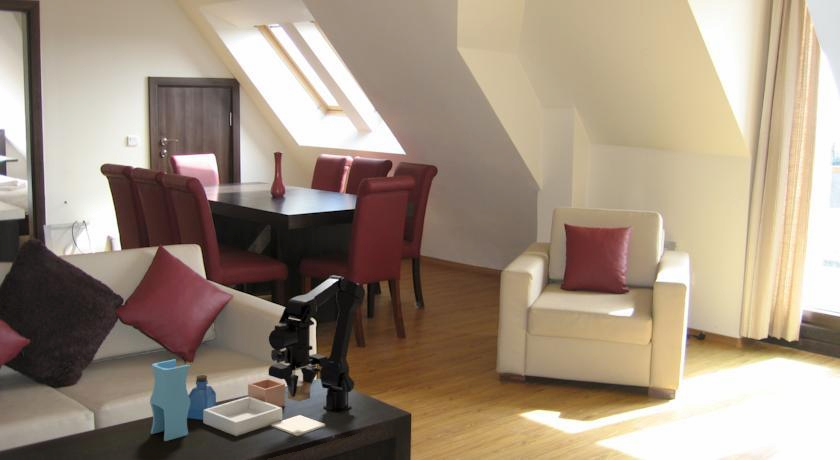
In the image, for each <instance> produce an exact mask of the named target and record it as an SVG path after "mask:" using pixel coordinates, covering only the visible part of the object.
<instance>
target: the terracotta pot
mask: <svg viewBox="0 0 840 460" xmlns="http://www.w3.org/2000/svg"><path fill="white" fill-rule="evenodd" d="M249 396H250V397H253V398H255V399H258V400H261V401H264V402H267V403H270V404H272V405H275V406H278V407H281V408H283V407H286V383H283V382H280V381H277V380H273V379H271V378H266V379H264V378H263V379H261V380H257V381H254V382H251V383H248V384H247V397H249Z"/></svg>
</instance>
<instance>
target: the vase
mask: <svg viewBox="0 0 840 460" xmlns="http://www.w3.org/2000/svg"><path fill="white" fill-rule="evenodd" d="M190 366H191V364H185V365H180V366H177V359H176V358H175V359H170V360H164V361H161V362H160V361H159V362H155V363H152V364H151V368H152V371H153V375H154V376H153V377H154V385H153V386H154V387H153V389H152V394H151V396H150V399H149V403H150V408H151V411H152V418H153V419H152V425H151V430H150V434H151V435H153V434H154V435H155V434H157V433H161V432H164V434H163V441H164V442H167V441H170V440H175V439H177V438H181V437H185V436H188V435H189V429H188V418H187V415H188V410H189V407H190V398H189V394H188V390H187V378H188V377H187V376H188V373H189V371H190V370H189V369H190Z"/></svg>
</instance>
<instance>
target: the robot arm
mask: <svg viewBox="0 0 840 460" xmlns="http://www.w3.org/2000/svg"><path fill="white" fill-rule="evenodd" d="M335 295H336V298H335V302H336V304H337V306H338V314H337V320H336V325H335V330H334V334H333V338H332V339H333V340H332V346H331V349H330V350H331V351H330V354H329V357H328V356H326V355H321V354H319V353H313V354H310V351H311V350H313V346H312V345H311V344H310V343H311V341H310V339H311V338H310V330H311V326H314V325H315V321H313V319H312V318H313V317H314V316H315V315H316V314H317V311H318V308H319V306H321V305H322V304H324V303H326V301H328V300H329V299H330V298H331V297H333V296H335ZM365 296H366V290H365V287H364V286H363V285H362V284H361V283H355V282H353V281H351V280H348V279H347V278H346V277H344V276H339V275H334V274H333V275H329V277H328V278H327V279H326V280H325V281H323V282H322V283H321V284H319V285H318V286H316V287H315V288H314V289H312V290H310V291H309V292H308V293H306V294H302V295H297V296H294V297H292V298H290V299H288V302H287V303H286V305H285V307H284V310H283V312H282V314H281V316H280V319H279V321H278V323H279V324H276V325H274V329H273V330H271V331H270V333H269V336H268V342H269V344H270V346H271V348H272V350H271V353H270V356H271V360H272V361H273V362H275V361H276V364H272V365H270V366H269V367H268V376H270V377H273V378H276V379H279V380H284V381H285V385H286V386H287V390H288V389H289V392H290V395H291V397H294V396H295V393H296V388H297V382H298V380H299V376H300V375H296V371H298V370H300V371H301V373H302V381H305V382H308V383H310V387H311V386H312V384H313V382H314V380H315V378H316V376H317V375H318V374H319V379H320V382H321V383H320V384H321V387H322V389H327V391H326V395H325V396H326V400H325V405H323V406H322V407H323V409H326V410H329V411H332V412H335V413H340V412H342V411H343V412H344V411H346V410H348V409H352V405H350V404H349V393H351V392H352V390H354V387H355V382H354V380H353V379H352V378H351V377H350V375H349V374H350V367H349V363H348V360H347V356H348V355H347V354H348V350H349V344H350V340H351V335H352V330H353V325H354V320H355V314H356V312H357V311H358V310H359V309H360V308H361V306H363V301H364V299H365ZM283 349H284V350H283ZM281 362H284V363H281ZM286 364H288V365H286ZM317 365H319V367H320V368H318V366H317Z"/></svg>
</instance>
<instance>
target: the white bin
mask: <svg viewBox="0 0 840 460" xmlns="http://www.w3.org/2000/svg"><path fill="white" fill-rule="evenodd" d="M280 421H283V407H278V406H275V405H272V404H270V403H267V402H264V401H261V400H258V399H255V398H253V397H250V396H249V397H248V396H246V397H242V398H239V399H235V400H232V401H229V402H228V401H227V402H225V403H221V404H218V405H216V406H215V407H211V408H208V409H204V410H203V423H202V424H205V425H207V426H209V427H212V428H215V429H217V430H220V431H222V432H224V433H227V434H229V435H232V436H235V437H238V436H242V435H245V434H247V433H250V432H253V431H256V430H259V429H263V428H265V427H266V428H267V427H269V426H271V424H274V423H277V422H280Z"/></svg>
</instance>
